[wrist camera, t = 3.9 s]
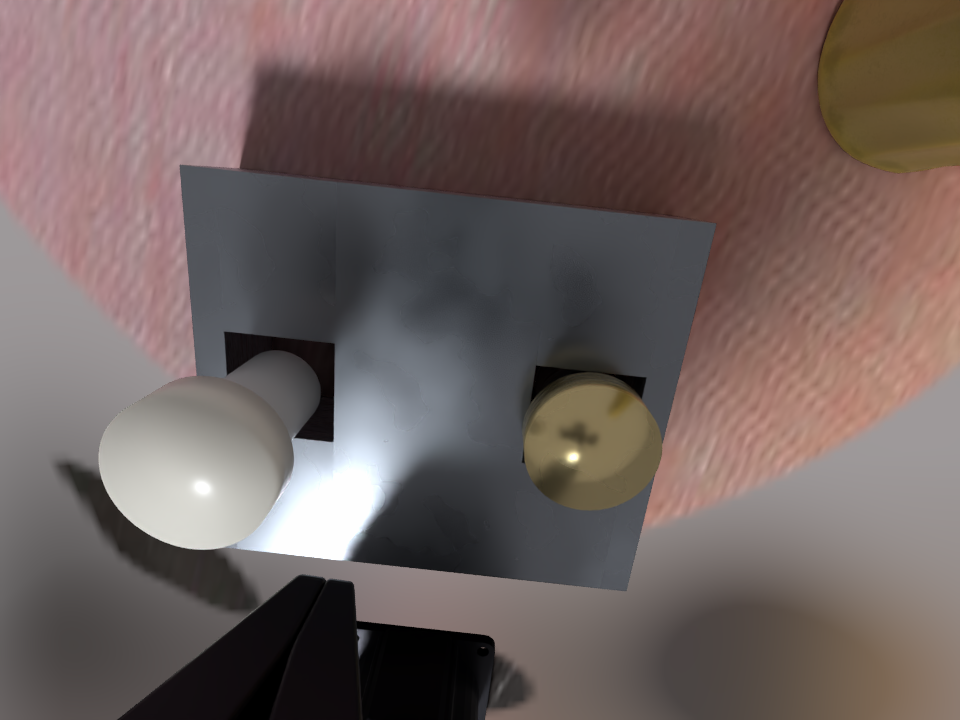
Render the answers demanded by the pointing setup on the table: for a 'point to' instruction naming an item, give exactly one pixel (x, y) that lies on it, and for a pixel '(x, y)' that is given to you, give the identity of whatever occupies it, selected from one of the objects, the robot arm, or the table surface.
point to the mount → (438, 357)
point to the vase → (894, 83)
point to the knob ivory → (209, 451)
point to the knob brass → (589, 439)
